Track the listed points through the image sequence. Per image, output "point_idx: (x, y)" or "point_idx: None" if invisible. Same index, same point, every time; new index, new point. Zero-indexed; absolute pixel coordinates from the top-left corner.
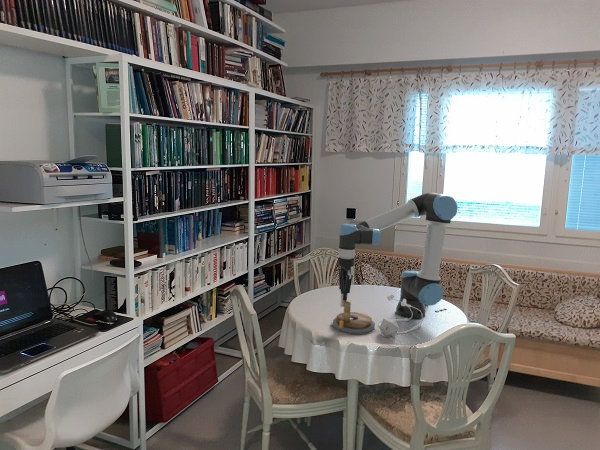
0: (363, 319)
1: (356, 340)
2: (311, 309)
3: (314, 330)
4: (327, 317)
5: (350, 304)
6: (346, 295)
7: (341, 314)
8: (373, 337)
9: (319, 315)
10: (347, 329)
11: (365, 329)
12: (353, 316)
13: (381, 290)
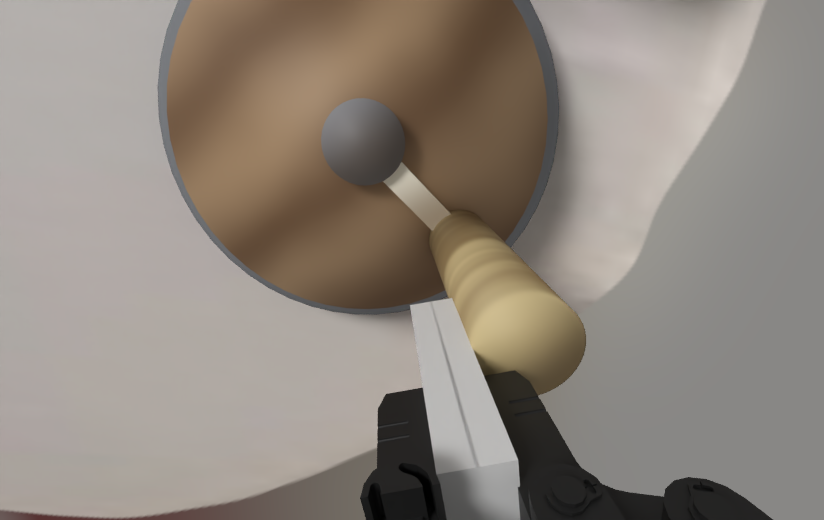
0: (406, 39)
1: (639, 180)
2: (9, 407)
3: None
4: (175, 314)
5: (541, 282)
6: (563, 452)
7: (264, 251)
8: (618, 16)
9: (141, 364)
10: (522, 231)
11: (544, 66)
12: (373, 154)
13: None
